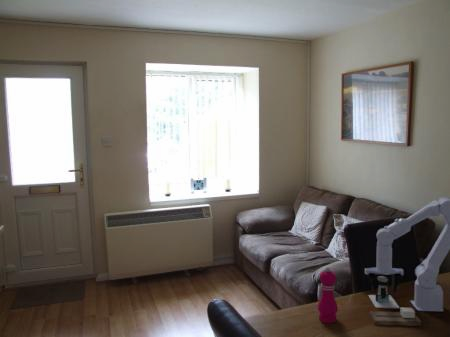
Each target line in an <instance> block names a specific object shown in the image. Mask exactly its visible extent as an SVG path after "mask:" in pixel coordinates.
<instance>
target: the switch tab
mask: <svg viewBox="0 0 450 337" xmlns="http://www.w3.org/2000/svg"><path fill="white" fill-rule="evenodd" d="M399 312H400V314H401V316H402V317H403V318H415V315H416V311H415V309H414V308H412V307H403V306H401V307H400V306H399Z"/></svg>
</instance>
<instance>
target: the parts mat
mask: <svg viewBox="0 0 450 337" xmlns="http://www.w3.org/2000/svg"><path fill="white" fill-rule="evenodd" d="M376 295H377V294H368V295H367V296H368V297H369V299H370V300H371V302H372V304H373V306H374V307H375V308H376V309H400V306H399V305H398V303H397V302H396V300H395V299H394V298H393V297H392V295H390V294H389V296H391V297H390V298H391V300H389V302H386V303H384V302H383V303H378V302H377V301H376Z"/></svg>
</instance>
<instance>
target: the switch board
mask: <svg viewBox="0 0 450 337" xmlns="http://www.w3.org/2000/svg"><path fill="white" fill-rule="evenodd" d="M368 313H369V314H368V315H369V317H370V319H371V321H372V323H373V324H374V325H375V326H376V325H378V326H379V325H381V326H407V327H408V326H414V327H421V326H422V321H421V319H420V318H419V317H418V316H417V315H416V314H415V318H403V317H402V316H401V314H400V311H379V310H378V311H377V310H376V311H374V310H373V311H372V310H371V311H369V312H368Z"/></svg>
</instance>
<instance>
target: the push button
mask: <svg viewBox="0 0 450 337" xmlns="http://www.w3.org/2000/svg"><path fill="white" fill-rule="evenodd" d="M390 282H391V279H389V278H388V277H387V276H385V275H380V276H377V277H376V283H375V284H377V286H378V287H377V291H378V292H377V294H375V295H376V301H377V302H378V303H383V302H384V303H386V302H389V300H391V298H390V297H392V295H391V296H389V295H390V294H389V293H388V286H389V285H390ZM388 294H389V295H388Z"/></svg>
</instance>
